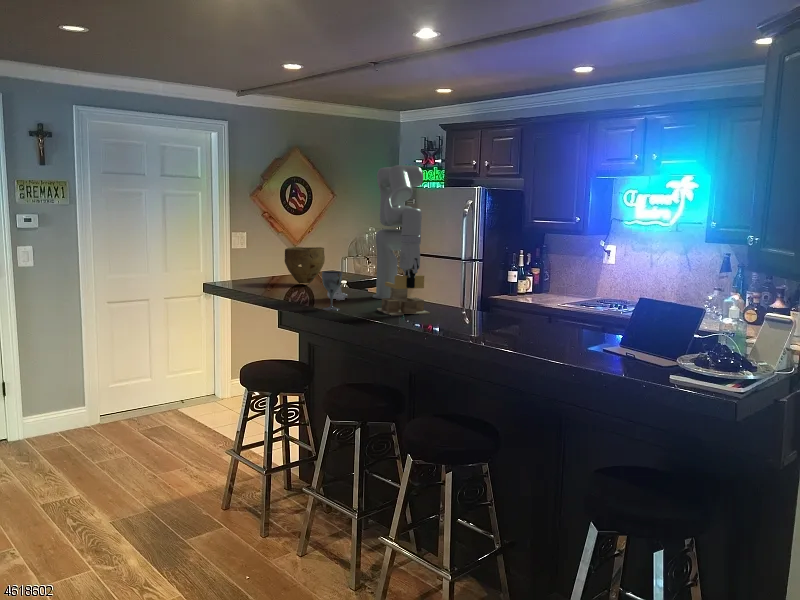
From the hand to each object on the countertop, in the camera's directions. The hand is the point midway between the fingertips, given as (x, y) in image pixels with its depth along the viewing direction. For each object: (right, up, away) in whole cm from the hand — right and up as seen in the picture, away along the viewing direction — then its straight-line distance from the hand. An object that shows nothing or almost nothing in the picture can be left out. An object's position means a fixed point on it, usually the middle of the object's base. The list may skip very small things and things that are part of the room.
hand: (409, 287), depth 254 cm
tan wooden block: (-2, 0, +5) cm, 5 cm away
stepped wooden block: (-3, -10, +7) cm, 12 cm away
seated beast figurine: (-32, -5, +38) cm, 50 cm away
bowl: (-53, +2, +84) cm, 100 cm away
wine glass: (-31, -9, +8) cm, 33 cm away
